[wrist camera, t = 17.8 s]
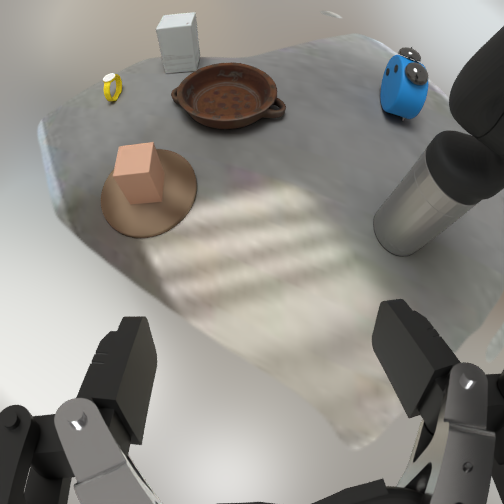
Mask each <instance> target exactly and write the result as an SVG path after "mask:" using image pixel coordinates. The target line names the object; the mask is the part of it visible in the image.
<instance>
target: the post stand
mask: <svg viewBox="0 0 504 504" xmlns="http://www.w3.org/2000/svg"><path fill="white" fill-rule="evenodd" d="M156 151H157V154H158V157H159V160H160V162H161V165H162V168H163V171H164V174H165V175H164V185H163V197H162V202H155V203H142V204H131V205H130V203H129V202H128V200H127V198H126V197H125V195H124V194H123V192H122V190H121V189H120V187H119V185H118V184H117V182H116V181H115V179H114V177H113V173H114V170H113V171H112V172H111V173H110V175H109V176H108V178H107V180H106V182H105V184H104V186H103V190H102V194H101V208H102V211H103V214H104V216H105V218H106V220H107V221H108V223H109V224H110V225H111V226H112V227H113V228H114V229H115V230H116V231H118V232H119V233H121V234H123V235H126V236H129V237H134V238H148V237H153V236H157V235H160V234H162V233H164V232H166V231H168V230H170V229H172V228H173V227H175V226H176V225H177V224H178V223H180V222H181V221H182V220H183V219H184V217H185V216H186V215H187V214H188V212H189V211H190V209H191V207H192V205H193V203H194V200H195V197H196V192H197V183H196V177H195V174H194V170H193V169H192V167H191V165H190V164H189V162H188V161H187V160H186V159H185V158H183V157H182V156H181V155H179V154H177V153H175V152H172V151H168V150H162V149H156Z"/></svg>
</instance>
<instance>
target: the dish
mask: <svg viewBox="0 0 504 504" xmlns="http://www.w3.org/2000/svg"><path fill="white" fill-rule="evenodd" d="M171 96H172V98H173V100H174V101H175V102H176V103H178V104H180V105H181V106H182V107H183V108H184V109H185V110H186V111H187V112H188V113H189V115H190V116H191V117H192V118H193V119H194V120H196V121H197V122H199V123H201V124H203V125H205V126H208V127H212V128H218V129H233V128H240V127H244V126H247V125H250V124H252V123H254V122H256V121H257V120H259V119H260V118H263V117H266V118H279V117H281V116H283V115H284V113H285V109H286V106H285V104H284V102H283V101H281V100H280V99H278V98H277V88H276V84H275V82H274V81H273V80H272V78H271V77H270V76H269V75H267V74H266V73H265V72H263V71H261V70H259V69H257V68H255V67H252V66H249V65H245V64H241V63H219V64H214V65H209V66H206V67H203V68H200V69H198V70H196V71H195V72H193V73H192V74H190V75H189V76H188V77H186V78H185V79H184V80H183V81H182V82H181V84H180V85H179V87H177V88H175V89H174V90H173V91H172V93H171ZM271 105H276V106H277V107H279V108H280V110H273V109H271V108H270V106H271Z"/></svg>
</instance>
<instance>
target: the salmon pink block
mask: <svg viewBox="0 0 504 504" xmlns="http://www.w3.org/2000/svg"><path fill="white" fill-rule="evenodd" d="M164 175H165V174H164V171H163V168H162V165H161V162H160V160H159V157H158V154H157V151H156V148H155V145H154V143H153V142H151V143H142V144H135V145H127V146H120V147H119V150H118V154H117V159H116V164H115V168H114V173H113V177H114V179H115V181H116V182H117V184H118V185H119V187H120V189H121V190H122V192H123V194H124V195H125V197H126V198H127V200H128V202H129V203H130V205H131V204H142V203H155V202H162V197H163V185H164Z"/></svg>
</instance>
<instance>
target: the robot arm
mask: <svg viewBox="0 0 504 504" xmlns="http://www.w3.org/2000/svg"><path fill="white" fill-rule="evenodd" d="M449 107H450V111H451V114H452V116H453V117H454V119H455V120H456V121H457V122H458V124H459V125H461V126H462V127H463V128H464V129H465V130H466V131H467V132H468V133H470V134H471V135H472V136H471V135H468V134H464V133H461V132H457V131H443V132H441V133H439V134H438V135H436V136H435V138H434V139H433V140H432V141H431V143H430V144H429V145H428V147H427V148H426V150H425V151H424V152H423V154H422V155H421V156H420V158H419V159H418V161H417V162H416V163H415V164H414V166H413V167H412V168H411V170H410V171H409V172H408V174H407V175H406V176H405V177H404V179H403V180H402V181H401V183H400V184H399V185H398V186H397V188H396V189H395V190H394V191H393V193H392V194H391V195H390V196H389V198H388V199H387V200H386V201H385V202H384V204H383V205H382V206H381V207H380V209H379V210H378V211H377V213H376V214H375V217H374V231H375V234H376V237H377V238H378V240H379V242H380V243H381V244H382V246H383V247H384V248H385V249H387V250H388V251H389V252H391V253H393V254H395V255H398V256H408V255H411V254H413V253H414V252H416V251H417V250H418V249H420V248H421V247H422V246H424V245H425V244H427V243H428V242H429V241H431V240H432V239H433V238H435V237H436V236H437V235H439V234H440V233H441V232H443V231H444V230H445V229H446V228H448V227H449V226H450V225H452V224H453V223H454V222H455V221H457V220H458V219H459V218H460V217H462V216H463V215H464V214H465V213H466V212H468V211H469V210H470V209H471V208H473V207H474V206H475V205H476V204H477V203H478V202H480V201H481V200H483V199H488V198H490V197H492V196H494V195H496V194H497V193H498V192H499V191H501V190H502V189H503V188H504V26H503V27H502V28H501V29H500V30H499V31H498V32H497V33H496V34H495V35H494V36H493V37H492V38H491V39H490V40H489V41H488V42H487V43H486V44H485V45H484V46H483V47H481V49H479V51H478V52H476V54H475V55H474V56H473V57H472V58H471V59H470V60H469V61H468V62H467V63H466V65H465V66H464V67H463V69H462V70H461V72H460V73H459V75H458V76H457V78H456V80H455V82H454V84H453V86H452V89H451V92H450V97H449ZM372 345H373V349H374V352H375V354H376V356H377V358H378V359H379V361H380V363H381V365H382V367H383V369H384V371H385V373H386V375H387V376H388V378H389V380H390V382H391V384H392V386H393V388H394V390H395V392H396V394H397V396H398V398H399V400H400V402H401V404H402V406H403V408H404V410H405V412H406V414H407V416H408V418H412V417H415V416H418V415H421V416H422V418H423V420H422V422H421V423H420V426H419V430H418V433H417V437H416V440H415V444H414V447H413V450H412V454H411V457H410V460H409V463H408V466H407V468H406V470H405V472H404V474H403V476H402V477H401V479H400V480H399V482H398V484H397V486H396V487H391V486H390V487H389V486H387V487H386V486H385V483H384V480H383V479H380V480H376V481H373V482H369V483H366V484H362V485H358V486H354V487H350V488H346V489H344V490H342V491H340V492H338V493H335V494H333V495H331V496H329V497H326V498H324V499H322V500H319V501H317V502H315V503H312V504H486V502H487V497H488V492H489V487H490V480H491V476H492V478H493V480H494V482H495V484H496V488H497V490H498V492H499V495H500V498H501V500H502V503H503V504H504V370H503V372H502V373H501V374H488V375H485V373H484V372H483V370H482V369H480V368H479V367H478V366H476V365H474V364H471V363H461V362H460V361H459V360H458V358H457V357H456V356H455V354H454V353H453V352H452V350H451V349H450V348H449V346H448V345H447V344H446V343H445V341H444V340H443V339H442V337H439V334H438V332H437V331H436V330H435V329H433V326H432V325H431V323H430V322H429V321H428V320H427V319H426V318H425V317H424V316H422V315H421V314H419V313H418V312H416V311H412V310H411V308H410V307H409V306H408V305H407V303H406V302H405V301H404V300H403V299H396V300H388V301H383V302H381V304H380V306H379V310H378V315H377V319H376V323H375V327H374V331H373V335H372ZM156 368H157V354H156V349H155V345H154V342H153V338H152V335H151V331H150V327H149V323H148V320H147V318H146V317H123V319H122V321H121V323H120V325H119V328H118V330H117V331H110V332H109V333H108V334H107V335H106V336H105V337H104V338H103V339H102V340H101V341H100V343H99V346H98V348H97V350H96V354H95V355H94V357H93V359H92V364H90V366H89V368H88V371H87V373H86V376H85V378H84V380H83V383H82V385H81V388H80V390H79V393H78V395H77V397H76V398H75V399H71V400H68V401H66V402H65V403H63V404H62V405H61V406H60V407H59V408H58V410H57V412H56V414H51V415H42V416H32V415H31V414H30V413H29V411H28V410H27V409H26V408H25V407H23V406H20V405H12V406H9V407H7V408H5V409H4V410H3V411H2V412H1V413H0V504H67V501H68V495H69V489H70V483H71V478H72V477H76V480H77V483H76V484H74V489H75V493H76V495H77V497H78V499H79V501H80V503H81V504H163V503H162V502H161V501H160V500H159V498H158V497H157V496H156V494H155V493H154V492H153V490H152V489H151V487H150V486H149V484H148V483H147V482H146V480H145V479H144V477H143V476H142V475H141V473H140V471H139V470H138V469H137V467H136V465H135V464H134V462H133V461H132V459H131V458H130V456H129V455H128V452H129V447H130V444H136V445H142V439H143V434H144V428H145V423H146V417H147V411H148V406H149V401H150V397H151V392H152V387H153V382H154V378H155V373H156ZM30 467H31V468H30ZM29 468H30V472H29ZM28 472H29V476H28ZM27 476H28V479H27ZM26 480H27V483H26ZM25 484H26V487H25ZM24 488H25V492H24ZM223 504H273V503H264V502H250V503H223Z"/></svg>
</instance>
